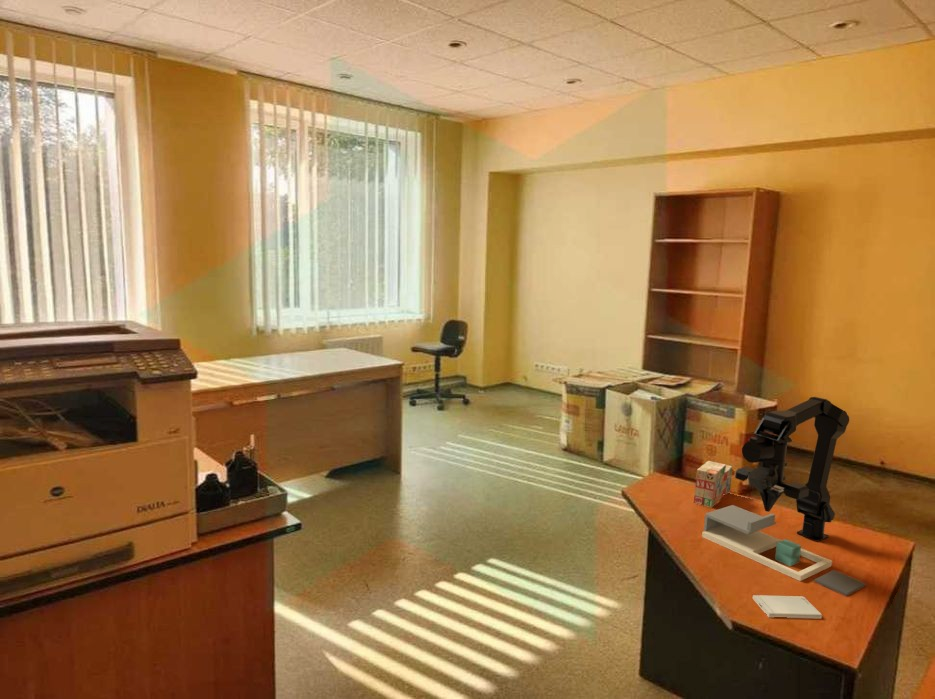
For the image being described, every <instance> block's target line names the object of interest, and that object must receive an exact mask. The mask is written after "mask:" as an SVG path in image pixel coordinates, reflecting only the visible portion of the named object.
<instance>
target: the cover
mask: <svg viewBox="0 0 935 699" xmlns="http://www.w3.org/2000/svg"><path fill="white" fill-rule="evenodd" d="M775 519H776V514H775V513H772V512H771V513H768V514H766V515H764V516H763V515H759V514H757V513H755V512H752V511H749V510H746V509H744V508H741V507H739V506H736V505H734V504H731V505H728V506H725V507H722V508H718V509H715V510H712V511H709V512H706V513H705V514H704V522H703V531H707V530H710V529H713V528H716V527H719V526H722V525H724V524H725V525H727V526H729V527H732V528H734V529H737V530H739V531H741V532H744V533H746V534H751V533H754V532H756V531H760V530H761V531H762V530H764V529H767V528H770V527H772V526H775V525H776V523H777V521H775Z"/></svg>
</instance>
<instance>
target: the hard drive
mask: <svg viewBox="0 0 935 699" xmlns="http://www.w3.org/2000/svg"><path fill="white" fill-rule="evenodd" d="M752 600H753V601H754V602H755V603H756V604H757V605H758V607H759V608H760V609H761V610H762V611H763V613H766V614H767V615H766V614H765V615H766V616H767V617H768V618H774V617H787V618H786V619H813V620H815V619H816V620H817V619H820V620H821V619H822V618H823V615H822V613H821V612H820V611H819V610H818V609H817V608H816V607H815V606H814V605H813V604H812V603H811V602H809V600H808V599H807V598H806V597H805V596H800V595H799V596H797V595H795V596H794V595H793V596H791V595H760V594H758V595H757V594H756V595H755V594H754V595H752Z"/></svg>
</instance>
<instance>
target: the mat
mask: <svg viewBox="0 0 935 699" xmlns="http://www.w3.org/2000/svg"><path fill="white" fill-rule="evenodd" d="M813 582H814V583H816V584H818V585H821V586H822V587H825V588H827V589H829V590H832V591H834V592H836V593H839V594H841V595H842V596H844V597H848V596H849V595H851V594H853V593H855V592H856V591H858V590H860V589H862V588H863V587H865V586H866V584H867V583H866V582H863V581H861V580H858V579H856V578H854V577H851V576H849V575H847V574H845V573H842V572H839V571H837V570H835V569H833V570H831V571H829V572H826V573H824V574H823V575H820V576H819V577H817V578H816V577H815V578H814V580H813Z"/></svg>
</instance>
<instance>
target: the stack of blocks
mask: <svg viewBox="0 0 935 699" xmlns="http://www.w3.org/2000/svg"><path fill="white" fill-rule="evenodd" d="M732 470H733V466H731V465H728V464H726V463H720V462H715V461H712V460H707V461H705V463H704V464H702V465H701V466H700V467H699V468H697V470H696V476H695V488H694V496H693V497H694V498H693V504H694V503H697V504H696V505H698V504H701V505H700V506H702V505H706V506H709V507H713V506H714V505H715V504H716V503H717V502H718V501H719V500H720V499H721V498H722V497H723V496H724V495H723V494H725V496H726V495H728V493H729V492H730V491H731V486H732ZM725 496H724V497H725ZM724 497H723V498H724ZM723 498H722V499H723ZM722 499H721V500H722ZM721 500H720V501H721ZM720 501H719V502H720ZM719 502H718V503H719ZM718 503H717V504H718ZM717 504H716V505H717ZM716 505H715V506H716ZM706 506H705V507H706ZM715 506H714V507H715ZM709 507H708V508H709ZM714 507H713V508H714Z"/></svg>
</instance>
